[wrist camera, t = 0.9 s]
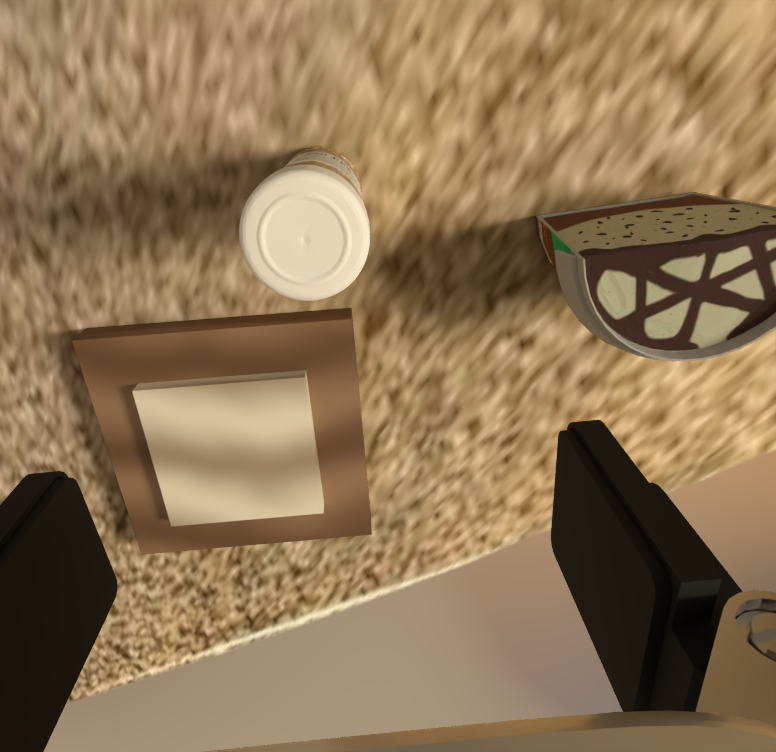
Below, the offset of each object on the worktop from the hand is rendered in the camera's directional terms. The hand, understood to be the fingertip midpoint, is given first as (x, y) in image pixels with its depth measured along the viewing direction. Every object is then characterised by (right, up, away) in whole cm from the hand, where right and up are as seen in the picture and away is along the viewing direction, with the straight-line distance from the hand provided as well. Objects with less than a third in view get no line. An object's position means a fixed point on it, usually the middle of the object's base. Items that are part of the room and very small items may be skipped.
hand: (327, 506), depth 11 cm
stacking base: (-9, -1, +27) cm, 28 cm away
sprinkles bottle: (-3, +13, +20) cm, 24 cm away
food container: (+15, +10, +23) cm, 29 cm away
